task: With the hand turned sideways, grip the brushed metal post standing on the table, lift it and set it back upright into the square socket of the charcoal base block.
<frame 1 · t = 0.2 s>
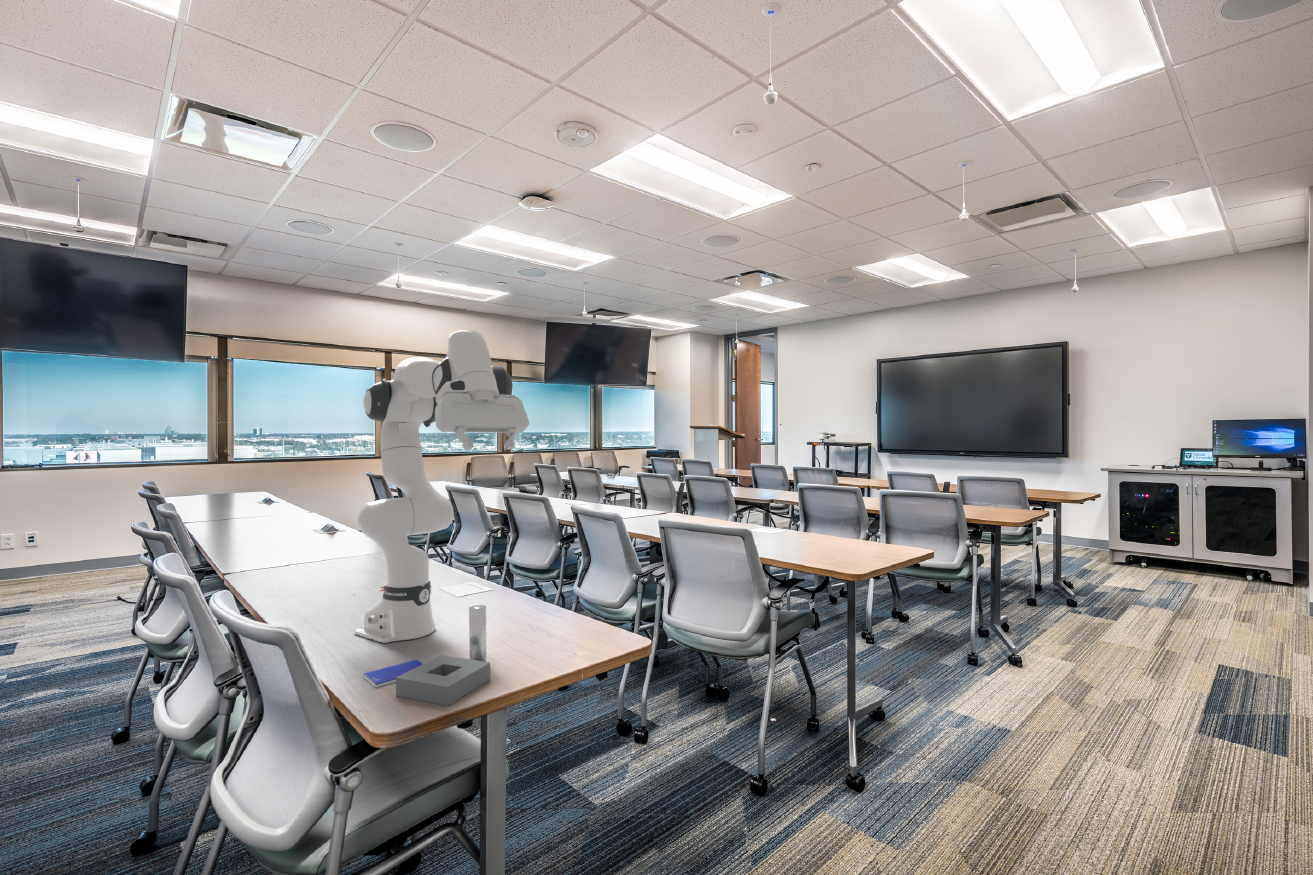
hand: (490, 448, 125), 54 cm above the table, tool tilted 25°, fingers open, 8 cm apart
hard drive: (396, 677, 138), on the table
post: (478, 663, 144), on the table
socket base: (444, 687, 130), on the table
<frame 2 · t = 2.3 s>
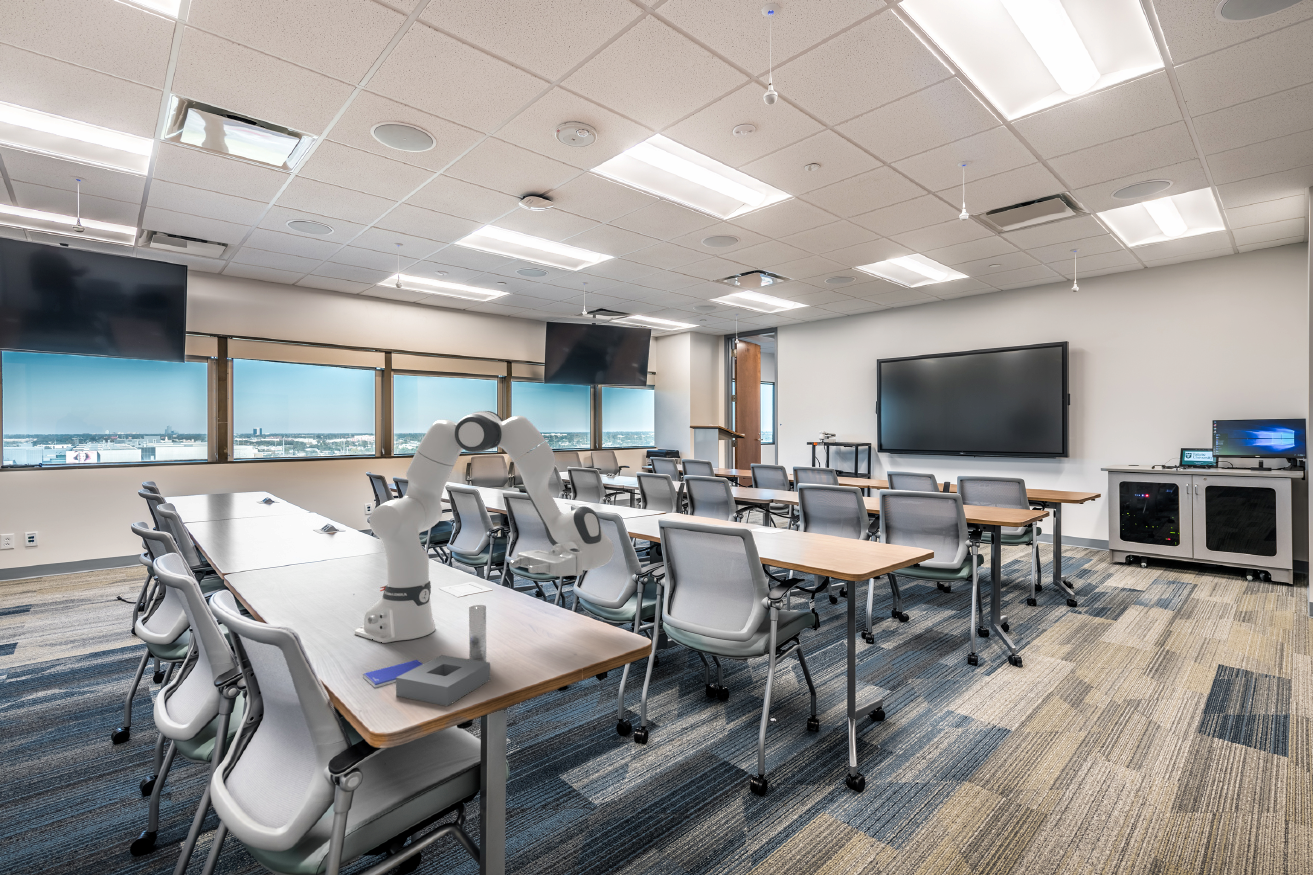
hand: (520, 567, 152), 22 cm above the table, tool horizontal, fingers open, 8 cm apart
nothing on the table moved.
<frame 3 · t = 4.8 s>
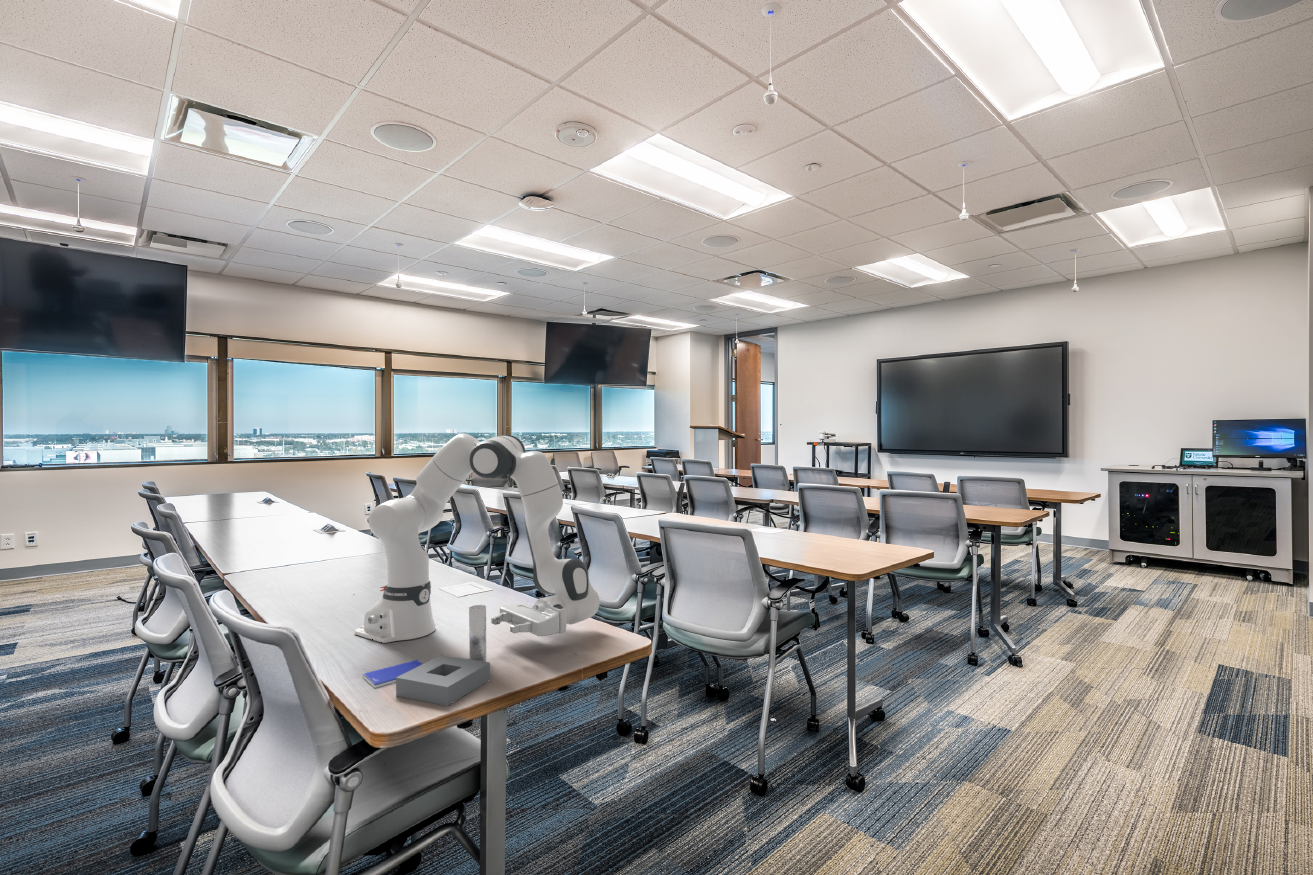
hand: (501, 625, 149), 8 cm above the table, tool horizontal, fingers open, 8 cm apart
nothing on the table moved.
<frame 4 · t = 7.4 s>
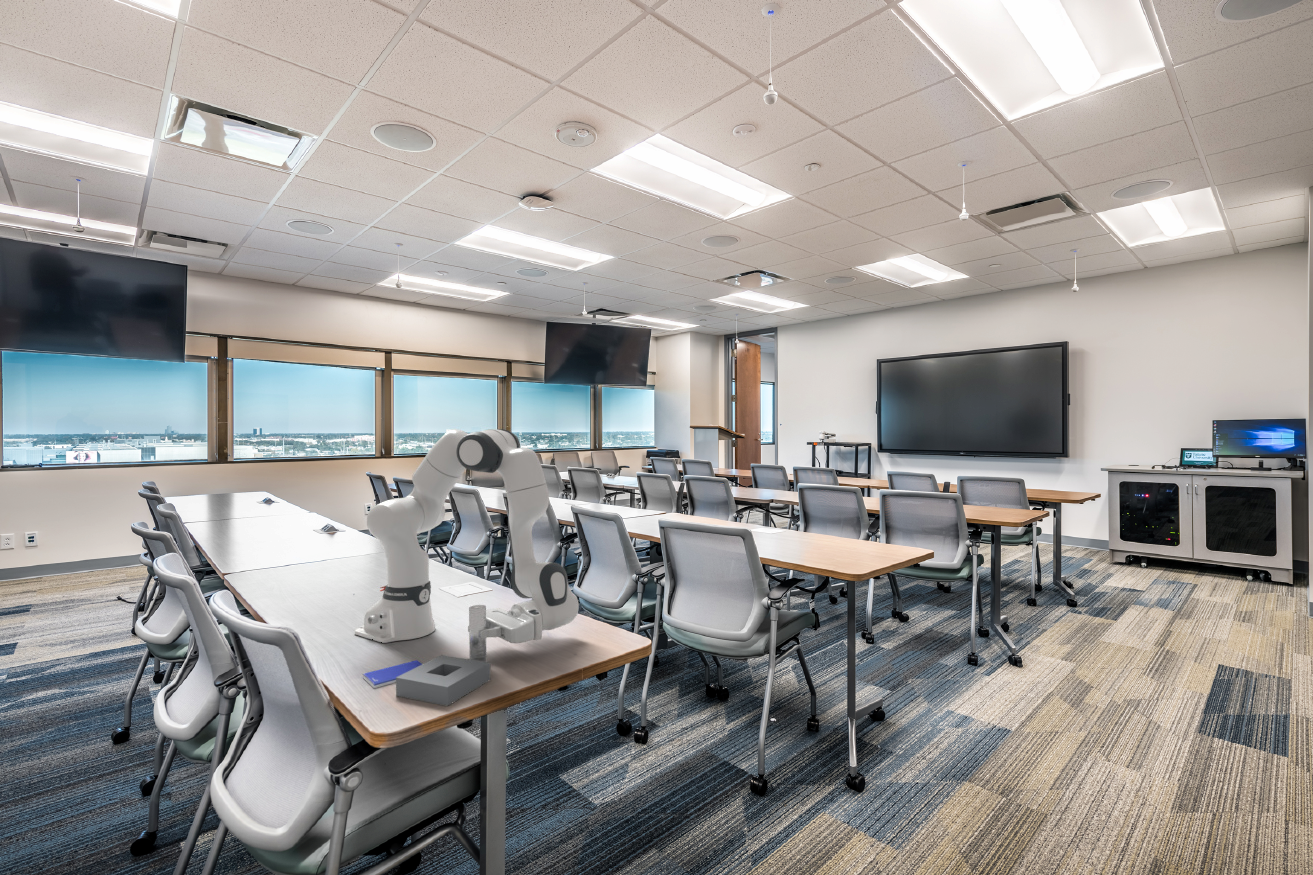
hand: (474, 632, 143), 8 cm above the table, tool horizontal, fingers closed on post, 4 cm apart
post: (478, 663, 144), on the table, touching gripper
everything else where it was.
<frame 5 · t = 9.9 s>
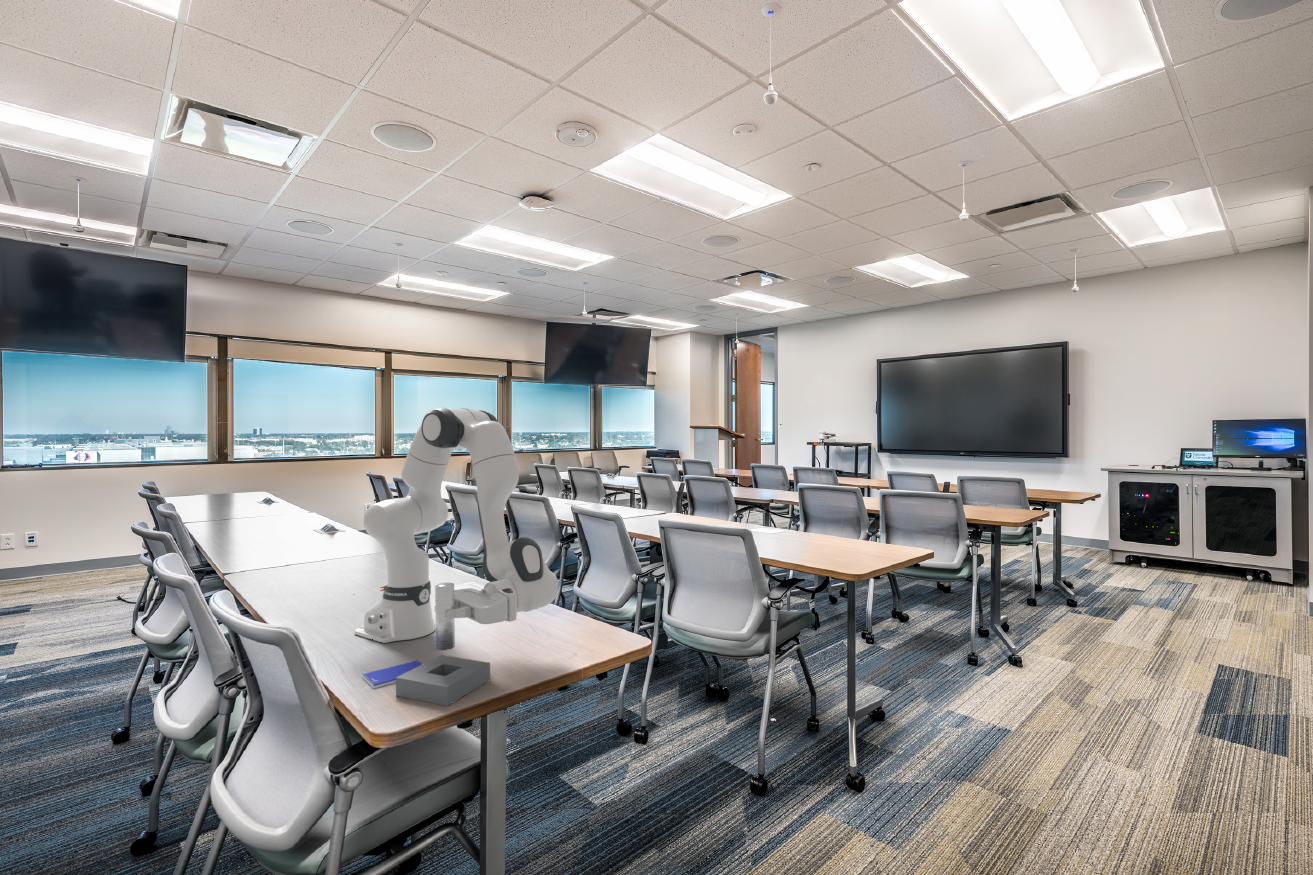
hand: (441, 612, 130), 17 cm above the table, tool horizontal, fingers closed on post, 4 cm apart
post: (445, 647, 130), point 9 cm above the table, touching gripper
everything else where it was.
when the fingers open (9 cm above the table, at t = 12.5 s): post drops 1 cm, resting in socket base.
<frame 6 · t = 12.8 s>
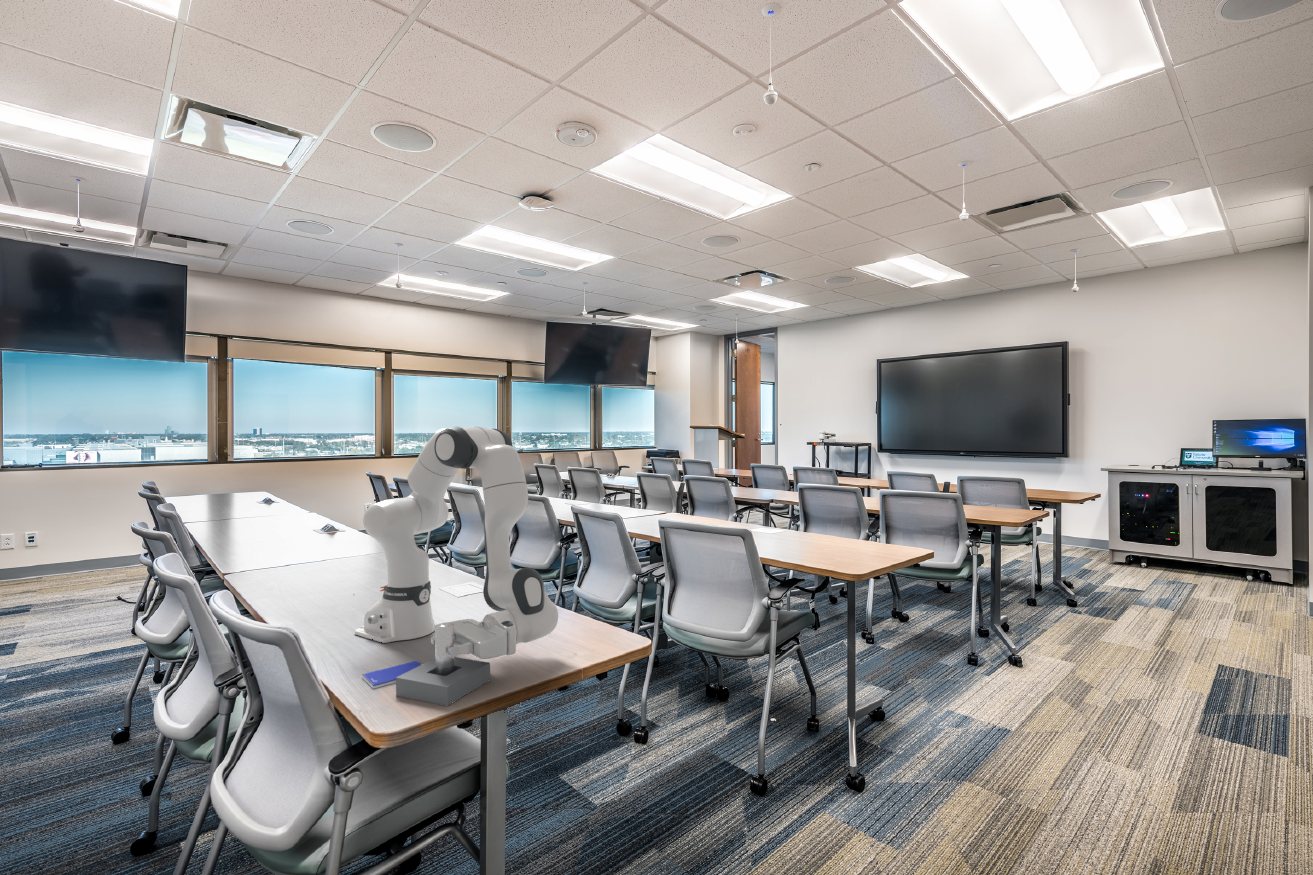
hand: (440, 646, 130), 9 cm above the table, tool horizontal, fingers open, 7 cm apart
post: (444, 687, 130), resting in socket base
everything else where it was.
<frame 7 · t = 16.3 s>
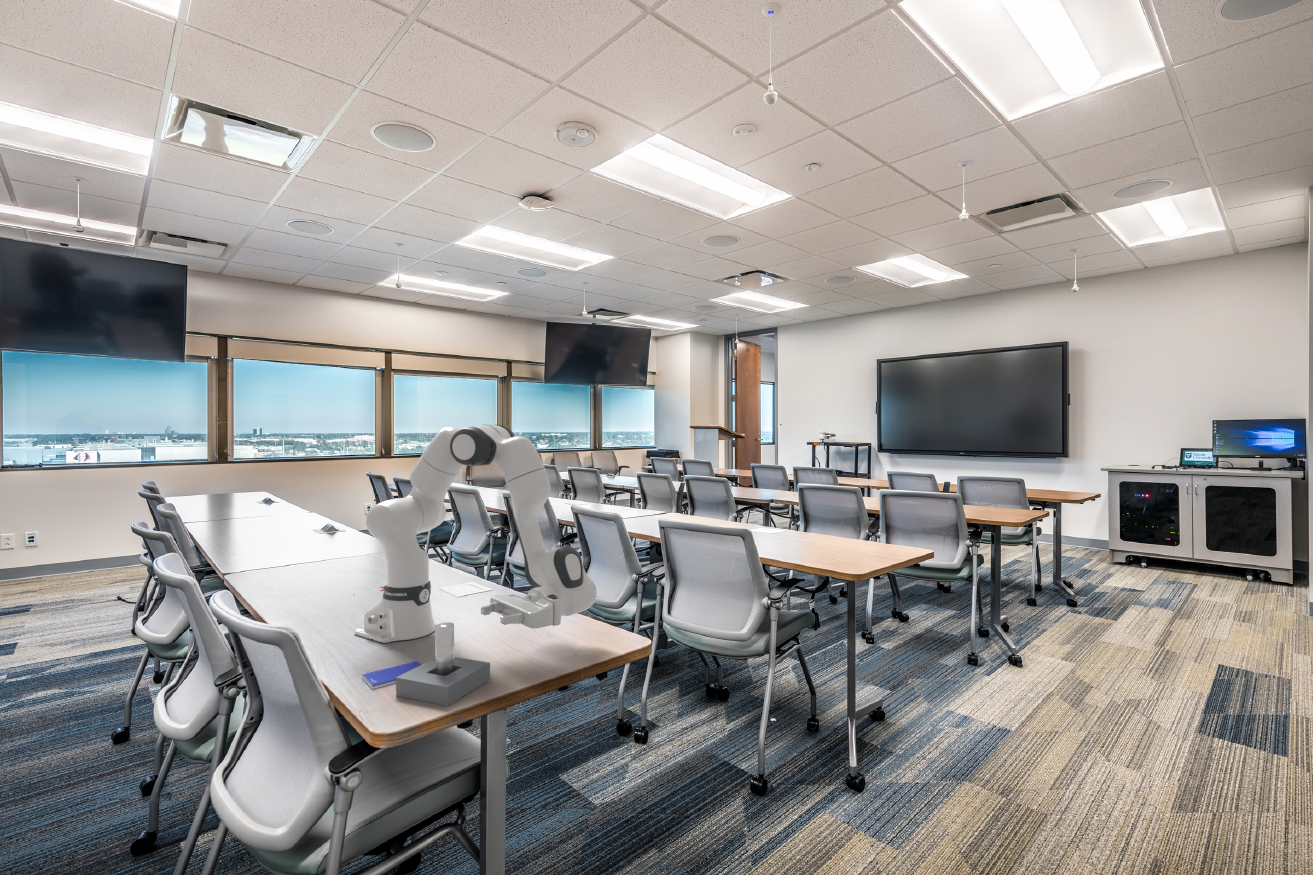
hand: (491, 615, 139), 13 cm above the table, tool horizontal, fingers open, 8 cm apart
nothing on the table moved.
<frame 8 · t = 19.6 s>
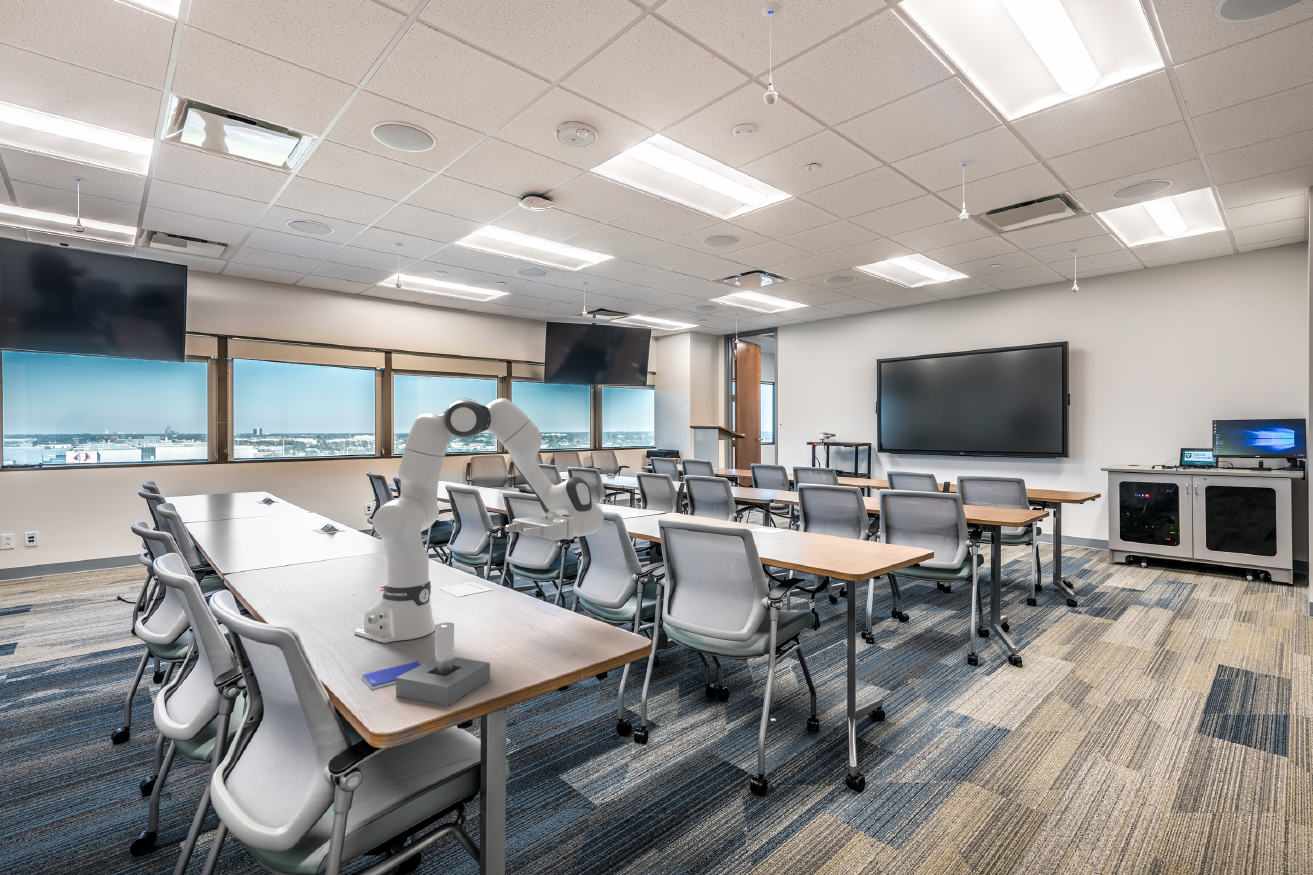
hand: (515, 530, 163), 30 cm above the table, tool horizontal, fingers open, 8 cm apart
at the end: post 0.1 cm off-centre on the socket base, point 0.0 cm above the socket base's base; post tilted 0°; the gripper is holding nothing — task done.
